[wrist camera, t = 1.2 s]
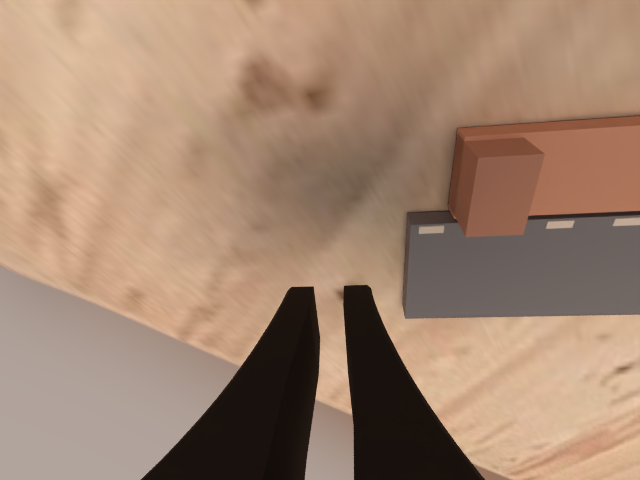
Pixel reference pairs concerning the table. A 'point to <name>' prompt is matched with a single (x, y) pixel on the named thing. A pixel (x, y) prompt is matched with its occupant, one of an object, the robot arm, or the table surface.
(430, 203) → the table surface
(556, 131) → the stub
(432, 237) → the board
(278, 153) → the table surface
